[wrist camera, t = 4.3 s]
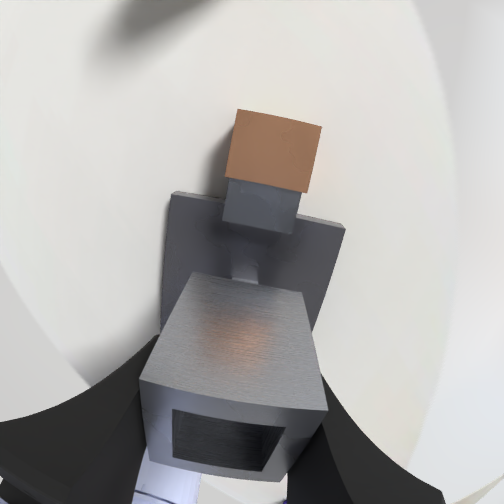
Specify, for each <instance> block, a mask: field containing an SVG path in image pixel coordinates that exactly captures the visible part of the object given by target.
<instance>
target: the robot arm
mask: <svg viewBox="0 0 504 504" xmlns="http://www.w3.org/2000/svg"><path fill="white" fill-rule="evenodd" d="M159 336H160V335H159V334H158V335H156V336H154V337H153V338H152V339H151V340H150V341H149V342H148V343H147V344H146V345H145V346H144V347H143V348H142V349H141V350H140V351H138V352H137V353H136V354H135V355H134V356H133V357H132V358H130V359H129V360H128V361H127V362H126V363H124V364H123V365H122V366H121V367H119V368H118V369H117V370H116V371H114V372H113V373H111V374H110V375H109V376H107V377H106V378H105V379H103V380H102V381H100V382H99V383H97V384H96V385H94V386H93V387H91V388H89V389H88V390H86V391H85V392H83V393H81V394H79V395H77V396H75V397H73V398H71V399H70V400H67V401H65V402H63V403H61V404H59V405H57V406H55V407H52V408H49V409H46V410H44V411H41V412H38V413H36V414H33V415H29V416H26V417H23V418H18V419H13V420H9V421H4V422H0V476H1V477H2V478H3V480H2V482H1V484H0V504H197V498H198V493H199V486H200V481H201V475H202V473H198V472H193V471H188V470H184V469H179V468H175V467H171V466H167V465H163V464H159V463H156V462H152V461H149V455H148V449H147V443H146V437H145V430H144V422H143V415H142V406H141V397H140V387H139V377H140V375H141V373H142V371H143V369H144V367H145V365H146V363H147V361H148V359H149V357H150V355H151V352H152V350H153V348H154V346H155V344H156V342H157V340H158V338H159ZM321 378H322V382H323V387H324V392H325V397H326V402H327V406H328V412H327V414H326V415H325V417H324V419H323V420H322V422H321V423H320V425H319V427H318V428H317V430H316V431H315V433H314V434H313V436H312V438H311V439H310V441H309V442H308V444H307V445H306V447H305V448H304V449H303V451H302V452H301V454H300V455H299V457H298V458H297V460H296V461H295V462H294V464H293V465H292V467H291V468H290V469H289V471H288V472H287V475H288V483H287V504H446V503H445V500H444V497H443V494H442V492H441V491H440V490H438V489H436V488H435V487H433V486H431V485H429V484H427V483H425V482H423V481H421V480H420V479H418V478H416V477H415V476H413V475H412V474H410V473H409V472H407V471H406V470H404V469H403V468H402V467H400V466H399V465H398V464H396V463H395V462H394V461H393V460H392V459H390V458H389V457H388V456H387V455H386V454H384V453H383V452H382V451H381V450H380V449H379V448H378V447H377V446H376V445H375V444H374V443H373V442H372V441H371V440H370V439H369V438H368V437H367V436H366V435H365V434H364V433H363V432H362V431H361V429H360V428H359V427H358V426H357V425H356V423H355V422H354V421H353V420H352V418H351V417H350V416H349V415H348V413H347V412H346V410H345V409H344V408H343V406H342V405H341V403H340V402H339V400H338V399H337V398H336V396H335V395H334V393H333V392H332V390H331V388H330V387H329V385H328V384H327V382H326V381H325V379H324V377H323V376H322V374H321Z"/></svg>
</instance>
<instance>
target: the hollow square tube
mask: <svg viewBox="0 0 504 504" xmlns="http://www.w3.org/2000/svg"><path fill="white" fill-rule="evenodd" d="M139 387H140V397H141V406H142V415H143V422H144V430H145V437H146V443H147V449H148V455H149V461H152V462H156V463H159V464H163V465H167V466H171V467H175V468H179V469H184V470H188V471H193V472H198V473H204V474H209V475H215V476H222V477H228V478H236V479H245V480H255V481H267V482H280V481H281V480H282V479H283V477H284V476H285V475H286V473H287V472H288V471H289V469H290V468H291V467H292V465H293V464H294V462H295V461H296V460H297V458H298V457H299V455H300V454H301V452H302V451H303V449H304V448H305V447H306V445H307V444H308V442H309V441H310V439H311V438H312V436H313V434H314V433H315V431H316V430H317V428H318V427H319V425H320V423H321V422H322V420H323V419H324V417H325V415H326V414H327V412H328V406H327V402H326V397H325V392H324V387H323V382H322V378H321V373H320V368H319V364H318V359H317V355H316V350H315V346H314V341H313V337H312V333H311V328H310V324H309V320H308V316H307V311H306V307H305V303H304V299H303V295H302V292H296V291H290V290H285V289H279V288H274V287H269V286H263V285H258V284H253V283H247V282H242V281H237V280H232V279H227V278H222V277H217V276H212V275H207V274H202V273H197V272H192V274H191V276H190V278H189V280H188V282H187V284H186V286H185V287H184V289H183V291H182V293H181V295H180V297H179V299H178V301H177V303H176V305H175V307H174V309H173V311H172V313H171V314H170V316H169V318H168V320H167V322H166V324H165V326H164V328H163V330H162V332H161V334H160V336H159V338H158V340H157V342H156V344H155V346H154V348H153V350H152V352H151V355H150V357H149V359H148V361H147V363H146V365H145V367H144V369H143V371H142V373H141V375H140V377H139Z"/></svg>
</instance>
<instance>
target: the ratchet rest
mask: <svg viewBox="0 0 504 504" xmlns="http://www.w3.org/2000/svg"><path fill="white" fill-rule="evenodd" d="M321 128H322V127H321V126H317V125H313V124H309V123H305V122H301V121H297V120H292V119H288V118H283V117H279V116H274V115H269V114H264V113H258V112H253V111H247V110H241V109H238V110H237V115H236V120H235V125H234V130H233V135H232V140H231V145H230V150H229V156H228V161H227V166H226V172H225V177H229V184H228V189H227V195H226V200H225V199H220V198H215V197H209V196H203V195H198V194H192V193H186V192H180V191H176V192H174V193H172V194H171V200H170V209H169V217H168V226H167V236H166V247H165V259H164V272H163V287H162V306H161V332H162V330H163V328H164V326H165V324H166V322H167V320H168V318H169V316H170V314H171V313H172V311H173V309H174V307H175V305H176V303H177V301H178V299H179V297H180V295H181V293H182V291H183V289H184V287H185V286H186V284H187V282H188V280H189V278H190V276H191V274H192V272H197V273H202V274H207V275H212V276H217V277H222V278H227V279H232V280H237V281H242V282H247V283H253V284H258V285H263V286H269V287H274V288H279V289H285V290H290V291H296V292H302V295H303V299H304V303H305V307H306V311H307V316H308V320H309V324H310V328H311V333H312V331H313V328H314V325H315V322H316V320H317V317H318V314H319V311H320V308H321V306H322V303H323V300H324V297H325V294H326V291H327V288H328V285H329V282H330V279H331V276H332V273H333V269H334V266H335V263H336V260H337V257H338V253H339V250H340V247H341V243H342V240H343V237H344V233H345V230H346V229H345V228H344V226H343V225H342V224H340V223H335V222H331V221H327V220H322V219H318V218H314V217H309V216H305V215H300V214H297V211H298V206H299V202H300V198H301V194H302V192H303V193H307V191H308V187H309V183H310V178H311V174H312V170H313V165H314V161H315V156H316V152H317V147H318V142H319V138H320V133H321Z"/></svg>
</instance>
